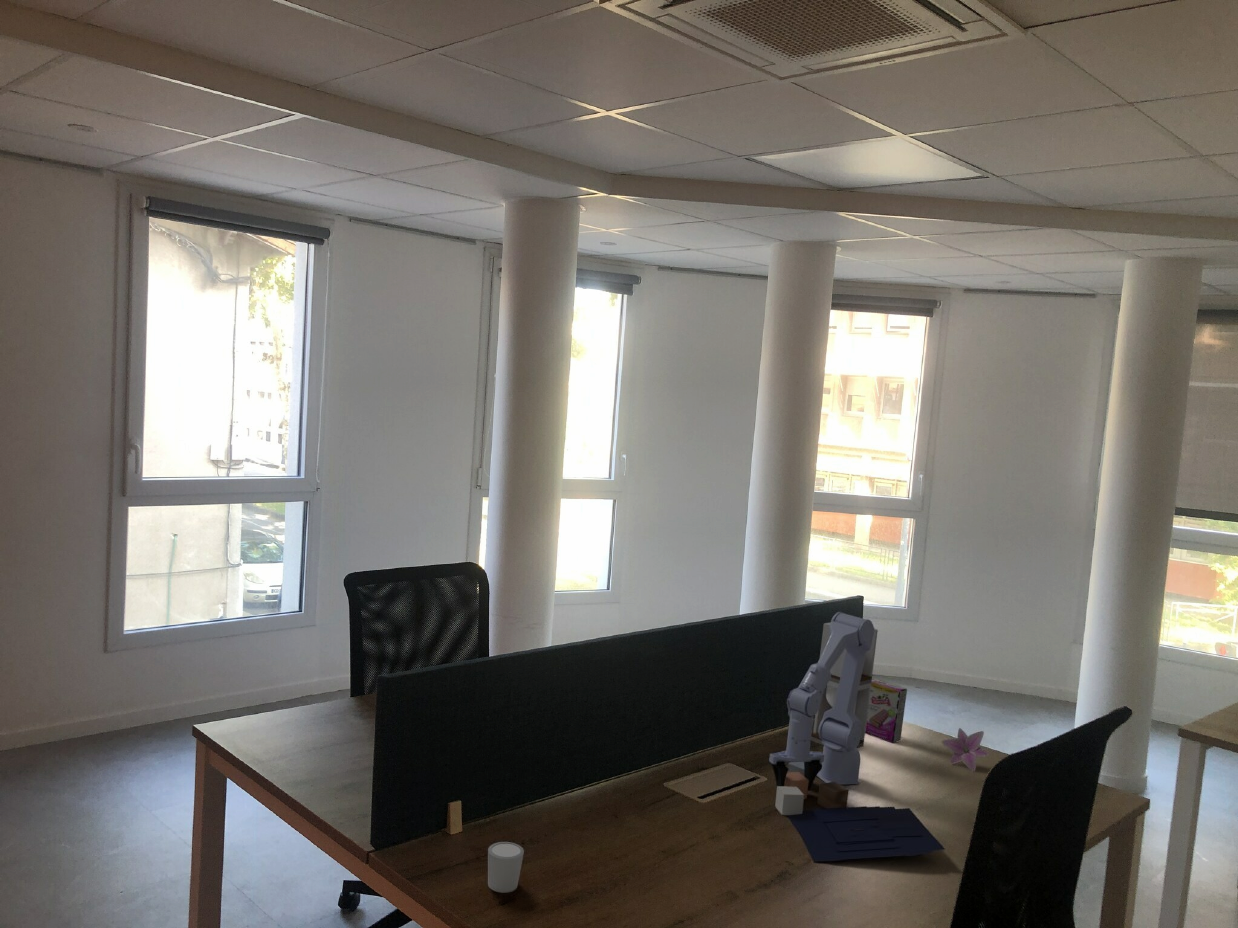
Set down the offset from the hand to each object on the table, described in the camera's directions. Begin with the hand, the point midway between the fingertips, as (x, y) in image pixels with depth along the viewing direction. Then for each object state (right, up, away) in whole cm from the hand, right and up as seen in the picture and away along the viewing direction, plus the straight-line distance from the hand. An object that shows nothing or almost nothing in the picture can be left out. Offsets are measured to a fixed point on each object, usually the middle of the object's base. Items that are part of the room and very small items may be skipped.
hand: (793, 789), depth 239 cm
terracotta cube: (0, -2, 0) cm, 2 cm away
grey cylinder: (-66, +1, -56) cm, 87 cm away
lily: (+55, -5, +35) cm, 65 cm away
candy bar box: (+36, -1, +51) cm, 62 cm away
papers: (+12, -5, -21) cm, 25 cm away
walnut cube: (+9, -3, -4) cm, 10 cm away
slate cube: (+3, -1, +9) cm, 9 cm away
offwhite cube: (-3, -2, -10) cm, 10 cm away
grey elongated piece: (+20, -1, +41) cm, 46 cm away
